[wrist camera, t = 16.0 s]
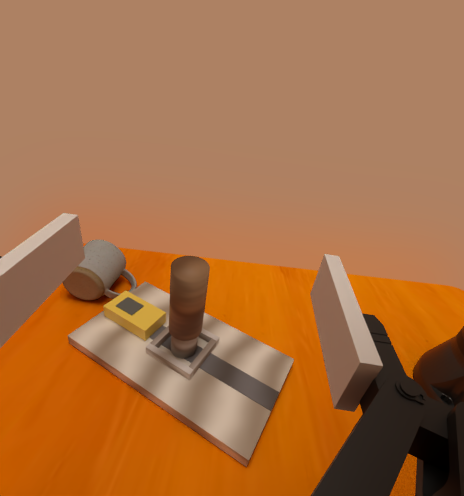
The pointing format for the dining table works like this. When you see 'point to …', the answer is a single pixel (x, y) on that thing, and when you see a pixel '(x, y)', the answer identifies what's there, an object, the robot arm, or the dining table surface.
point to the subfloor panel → (194, 374)
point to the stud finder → (135, 314)
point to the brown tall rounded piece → (187, 303)
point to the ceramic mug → (98, 272)
